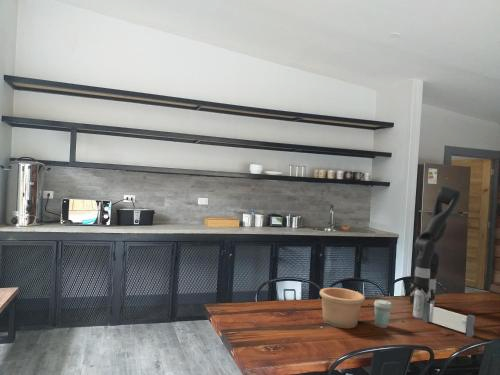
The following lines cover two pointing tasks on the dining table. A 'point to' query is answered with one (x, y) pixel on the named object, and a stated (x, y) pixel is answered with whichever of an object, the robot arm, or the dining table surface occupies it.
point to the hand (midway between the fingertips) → (419, 305)
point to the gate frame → (469, 321)
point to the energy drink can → (418, 304)
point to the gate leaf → (448, 318)
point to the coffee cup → (382, 313)
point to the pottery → (341, 307)
